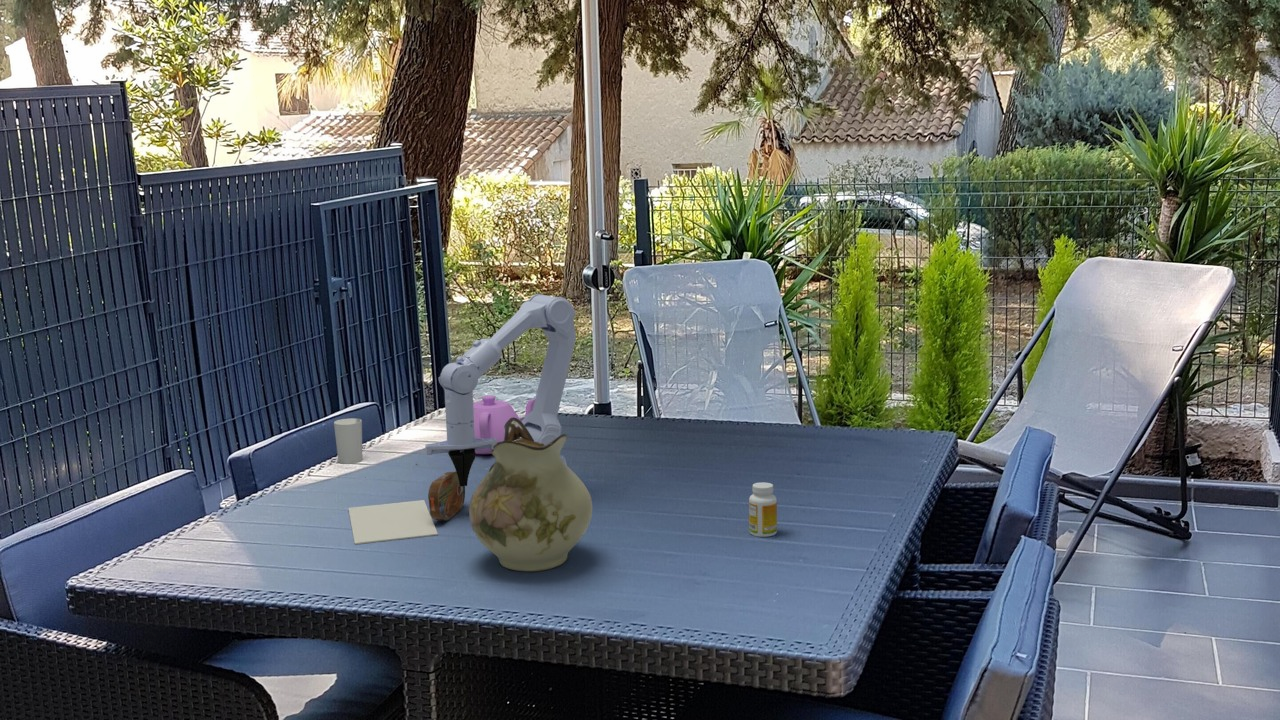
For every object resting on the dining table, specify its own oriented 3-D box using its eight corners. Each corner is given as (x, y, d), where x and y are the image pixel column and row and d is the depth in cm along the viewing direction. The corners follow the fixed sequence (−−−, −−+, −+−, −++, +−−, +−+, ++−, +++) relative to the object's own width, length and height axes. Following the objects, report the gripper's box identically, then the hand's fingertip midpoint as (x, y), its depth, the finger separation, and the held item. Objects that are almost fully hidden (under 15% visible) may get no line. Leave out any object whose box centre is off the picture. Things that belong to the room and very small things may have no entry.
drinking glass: (369, 459, 288) (367, 420, 286) (350, 465, 282) (347, 425, 281) (350, 456, 291) (348, 417, 290) (330, 462, 286) (328, 422, 284)
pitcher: (545, 590, 199) (539, 449, 195) (441, 567, 212) (433, 433, 207) (616, 551, 218) (613, 421, 213) (517, 532, 230) (511, 409, 226)
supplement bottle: (779, 529, 228) (779, 482, 226) (773, 538, 223) (773, 489, 221) (752, 527, 230) (752, 480, 228) (746, 536, 225) (745, 487, 223)
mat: (424, 501, 252) (424, 499, 252) (437, 535, 229) (437, 533, 229) (348, 509, 248) (348, 507, 248) (354, 544, 225) (354, 543, 225)
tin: (441, 525, 234) (439, 485, 233) (426, 525, 235) (424, 484, 233) (467, 505, 249) (465, 466, 247) (453, 504, 249) (451, 466, 248)
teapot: (538, 459, 284) (536, 404, 282) (450, 461, 285) (447, 406, 282) (546, 437, 306) (544, 386, 304) (464, 439, 306) (462, 388, 304)
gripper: (491, 414, 245) (494, 476, 247) (422, 420, 241) (425, 483, 243) (497, 421, 238) (500, 485, 241) (426, 427, 234) (429, 492, 237)
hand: (463, 485), depth 242 cm, fingers closed
